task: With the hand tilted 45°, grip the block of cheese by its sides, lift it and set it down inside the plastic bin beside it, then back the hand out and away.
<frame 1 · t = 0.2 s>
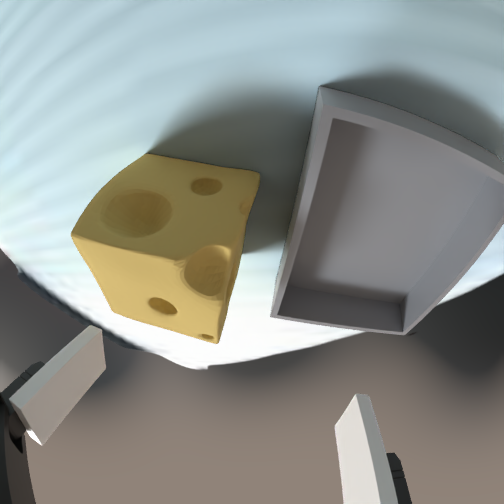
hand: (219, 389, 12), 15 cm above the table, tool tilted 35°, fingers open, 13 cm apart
cheese: (195, 206, 24), on the table
bin: (379, 225, 21), on the table
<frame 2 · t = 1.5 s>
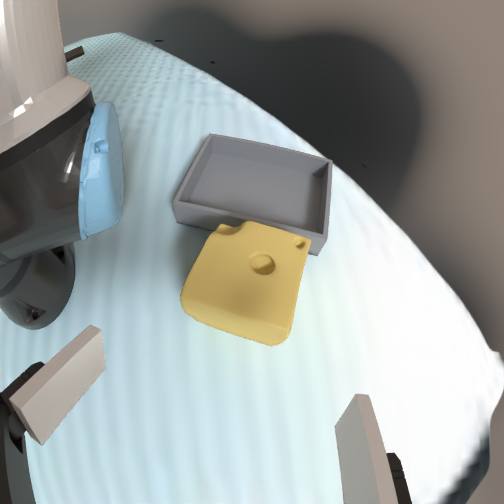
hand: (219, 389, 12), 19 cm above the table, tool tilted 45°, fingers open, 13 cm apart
cheese: (245, 300, 34), on the table
bin: (257, 197, 41), on the table
hardcover book: (61, 62, 75), on the table
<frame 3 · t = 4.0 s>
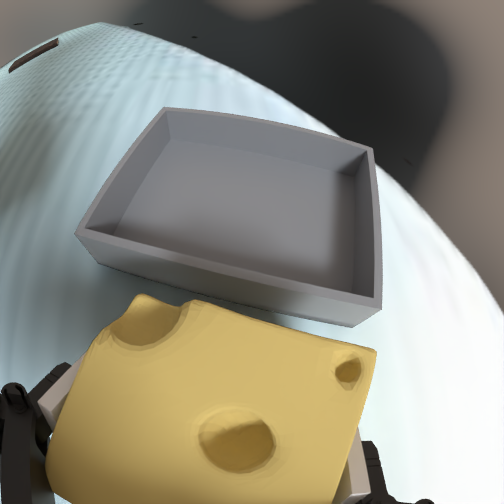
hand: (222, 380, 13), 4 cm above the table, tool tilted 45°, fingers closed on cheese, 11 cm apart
cheese: (217, 419, 15), on the table, touching gripper
bin: (242, 213, 23), on the table
hardcover book: (35, 56, 58), on the table
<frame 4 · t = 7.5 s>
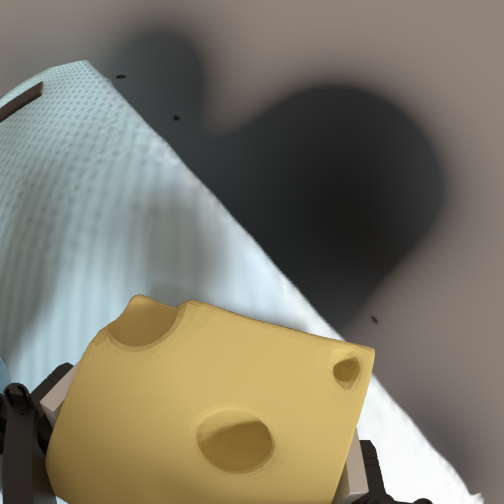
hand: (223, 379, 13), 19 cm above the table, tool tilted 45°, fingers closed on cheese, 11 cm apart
cheese: (217, 419, 15), point 15 cm above the table, touching gripper
hardcover book: (20, 104, 64), on the table
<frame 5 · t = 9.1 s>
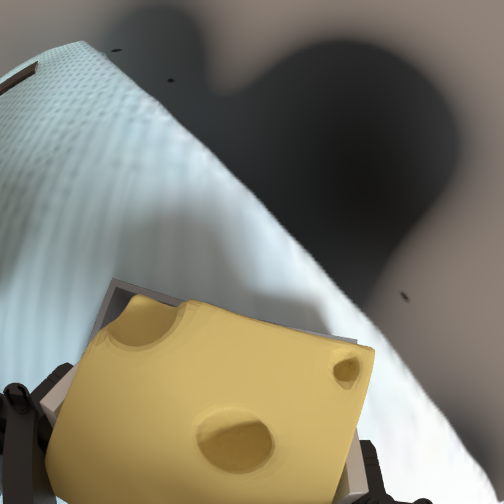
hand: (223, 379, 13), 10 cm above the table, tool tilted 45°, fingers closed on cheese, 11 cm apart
cheese: (217, 419, 15), point 6 cm above the table, touching gripper
bin: (208, 406, 20), on the table
hardcover book: (13, 84, 55), on the table
when the fingers open (6 cm above the table, at t = 10.5 s): cheese drops 1 cm, resting on bin.
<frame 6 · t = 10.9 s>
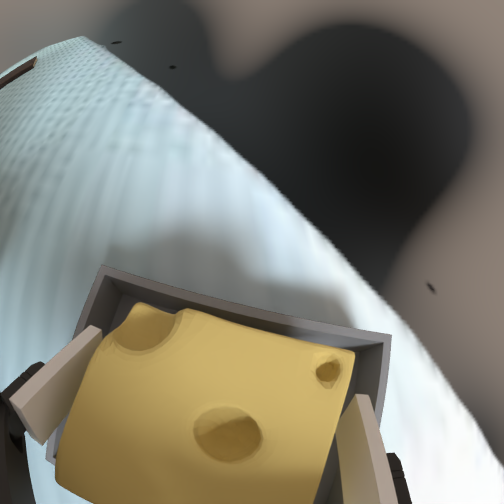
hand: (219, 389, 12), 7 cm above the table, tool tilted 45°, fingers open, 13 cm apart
cheese: (214, 417, 16), point 1 cm above the table, touching bin
bin: (216, 418, 17), on the table
hardcover book: (12, 79, 52), on the table
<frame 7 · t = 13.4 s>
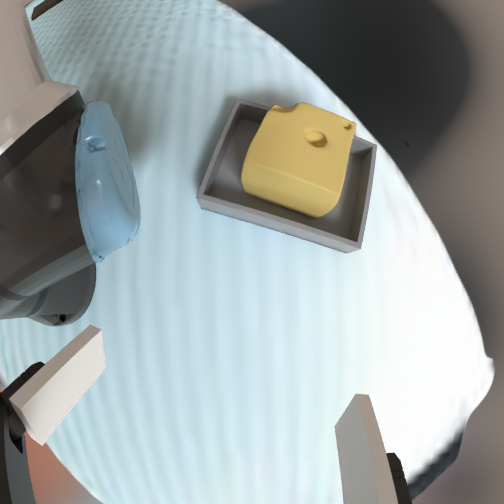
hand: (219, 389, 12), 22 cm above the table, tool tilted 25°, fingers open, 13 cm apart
cheese: (290, 176, 36), point 1 cm above the table, touching bin
bin: (290, 178, 36), on the table
hardcover book: (58, 0, 45), on the table
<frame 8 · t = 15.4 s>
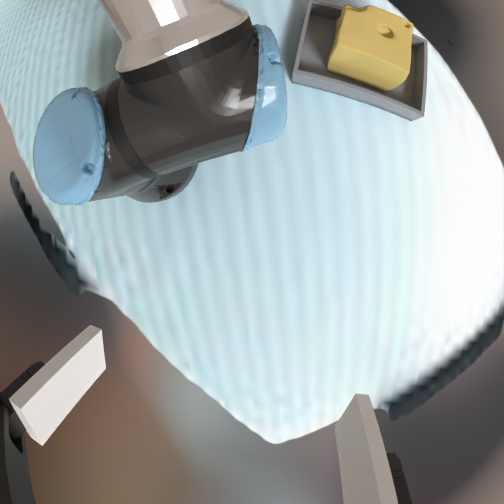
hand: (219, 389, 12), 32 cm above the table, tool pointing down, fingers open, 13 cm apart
cheese: (361, 59, 32), point 1 cm above the table, touching bin
bin: (360, 61, 33), on the table
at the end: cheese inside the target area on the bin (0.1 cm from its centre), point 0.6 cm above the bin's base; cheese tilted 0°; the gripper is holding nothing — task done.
